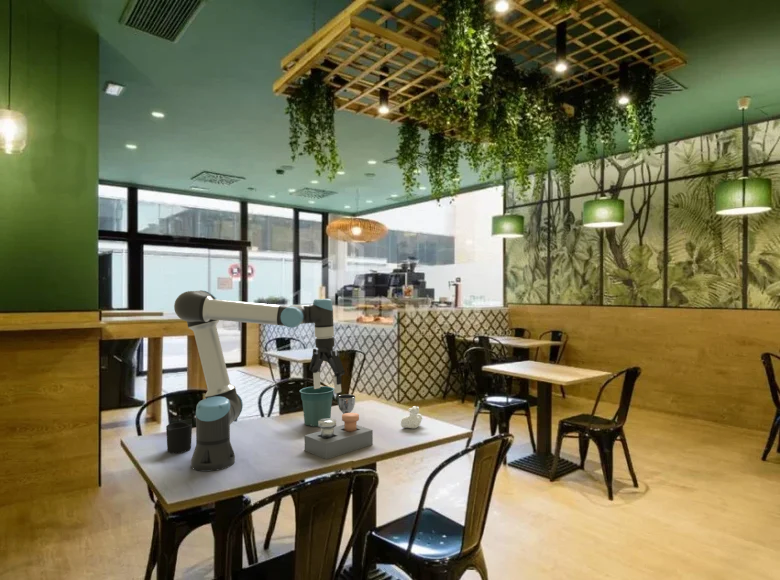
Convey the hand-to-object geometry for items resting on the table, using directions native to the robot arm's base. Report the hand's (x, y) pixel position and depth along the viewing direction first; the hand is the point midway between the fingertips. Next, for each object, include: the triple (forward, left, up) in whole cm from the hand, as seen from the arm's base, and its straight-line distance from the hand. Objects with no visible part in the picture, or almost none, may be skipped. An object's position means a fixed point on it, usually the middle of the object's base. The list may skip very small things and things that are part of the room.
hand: (327, 390), depth 190 cm
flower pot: (+19, +33, -24) cm, 45 cm away
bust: (+46, -4, -24) cm, 52 cm away
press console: (+5, -1, -24) cm, 24 cm away
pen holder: (-42, +42, -24) cm, 64 cm away
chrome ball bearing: (-1, -1, -19) cm, 19 cm away
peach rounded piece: (+11, -1, -19) cm, 22 cm away
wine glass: (+23, +16, -24) cm, 37 cm away
